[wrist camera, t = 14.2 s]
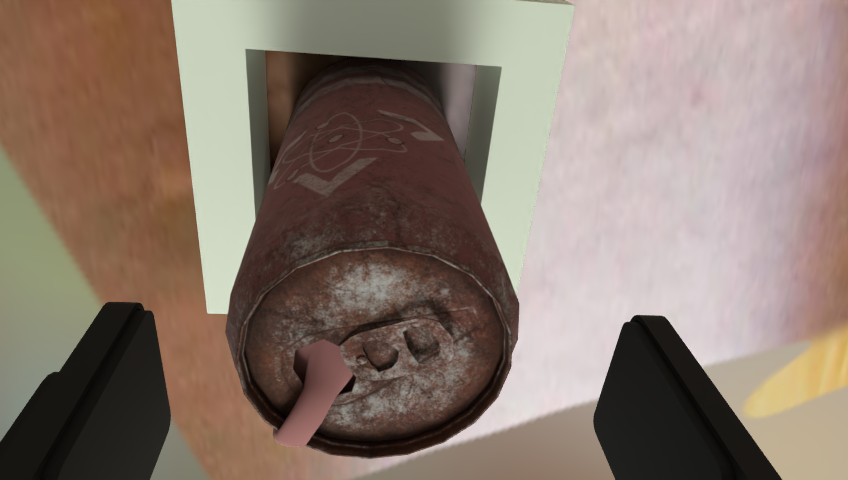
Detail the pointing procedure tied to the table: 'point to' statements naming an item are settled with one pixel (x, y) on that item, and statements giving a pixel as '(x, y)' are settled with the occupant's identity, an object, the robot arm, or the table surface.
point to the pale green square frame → (377, 38)
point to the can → (371, 275)
